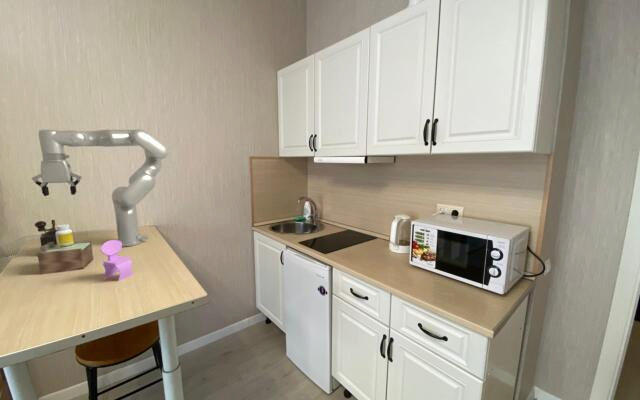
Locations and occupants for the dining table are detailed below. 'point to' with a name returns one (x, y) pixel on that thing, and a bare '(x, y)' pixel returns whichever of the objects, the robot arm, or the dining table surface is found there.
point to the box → (65, 259)
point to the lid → (51, 247)
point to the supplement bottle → (64, 237)
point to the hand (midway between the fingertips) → (60, 194)
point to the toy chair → (116, 260)
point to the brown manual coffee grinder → (46, 236)
